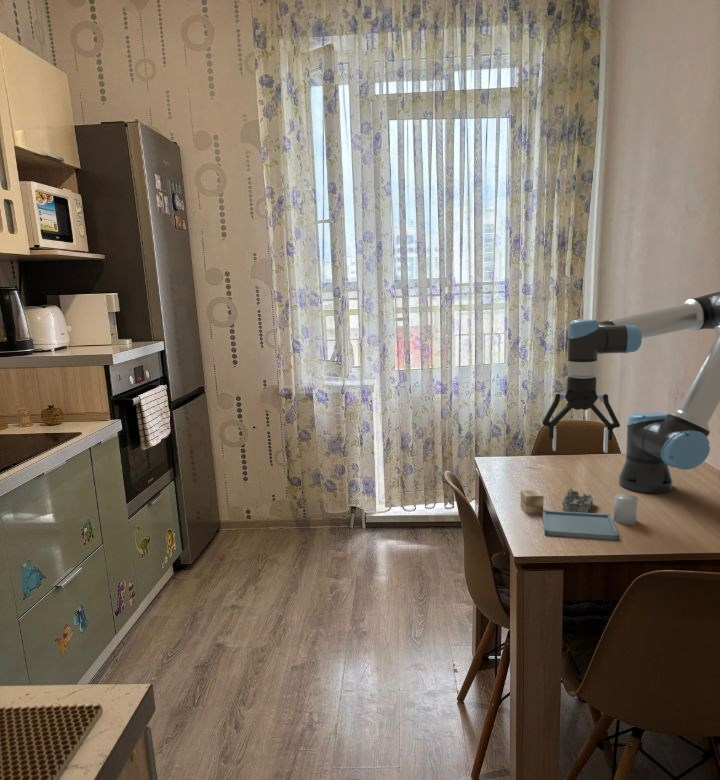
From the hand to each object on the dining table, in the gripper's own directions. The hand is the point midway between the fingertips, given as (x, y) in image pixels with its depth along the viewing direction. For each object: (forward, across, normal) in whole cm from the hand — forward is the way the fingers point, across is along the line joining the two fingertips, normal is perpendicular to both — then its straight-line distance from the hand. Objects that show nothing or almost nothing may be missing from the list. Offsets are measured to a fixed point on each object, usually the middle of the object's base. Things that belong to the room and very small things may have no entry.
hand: (579, 450), depth 169 cm
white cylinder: (+17, -11, +8) cm, 22 cm away
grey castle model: (+17, 0, 0) cm, 17 cm away
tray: (+17, +1, +15) cm, 22 cm away
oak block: (+17, +13, +4) cm, 21 cm away
